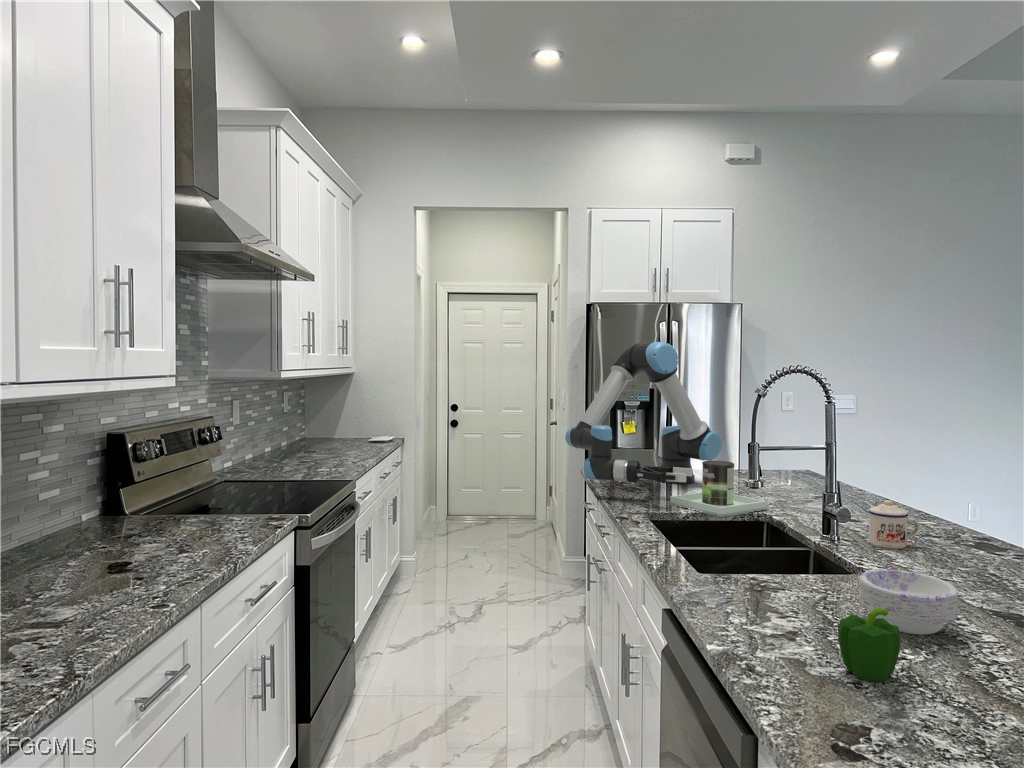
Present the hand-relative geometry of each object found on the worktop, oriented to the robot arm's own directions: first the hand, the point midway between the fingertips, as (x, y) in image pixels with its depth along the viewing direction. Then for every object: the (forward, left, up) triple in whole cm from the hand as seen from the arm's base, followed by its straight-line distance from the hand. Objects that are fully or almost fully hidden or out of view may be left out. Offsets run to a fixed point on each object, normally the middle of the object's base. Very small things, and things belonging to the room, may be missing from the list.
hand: (689, 475), depth 221 cm
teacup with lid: (-10, +64, -10) cm, 65 cm away
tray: (-6, +8, -10) cm, 14 cm away
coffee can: (-6, +8, -9) cm, 13 cm away
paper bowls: (+43, +96, -10) cm, 106 cm away
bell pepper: (+68, +104, -10) cm, 125 cm away
